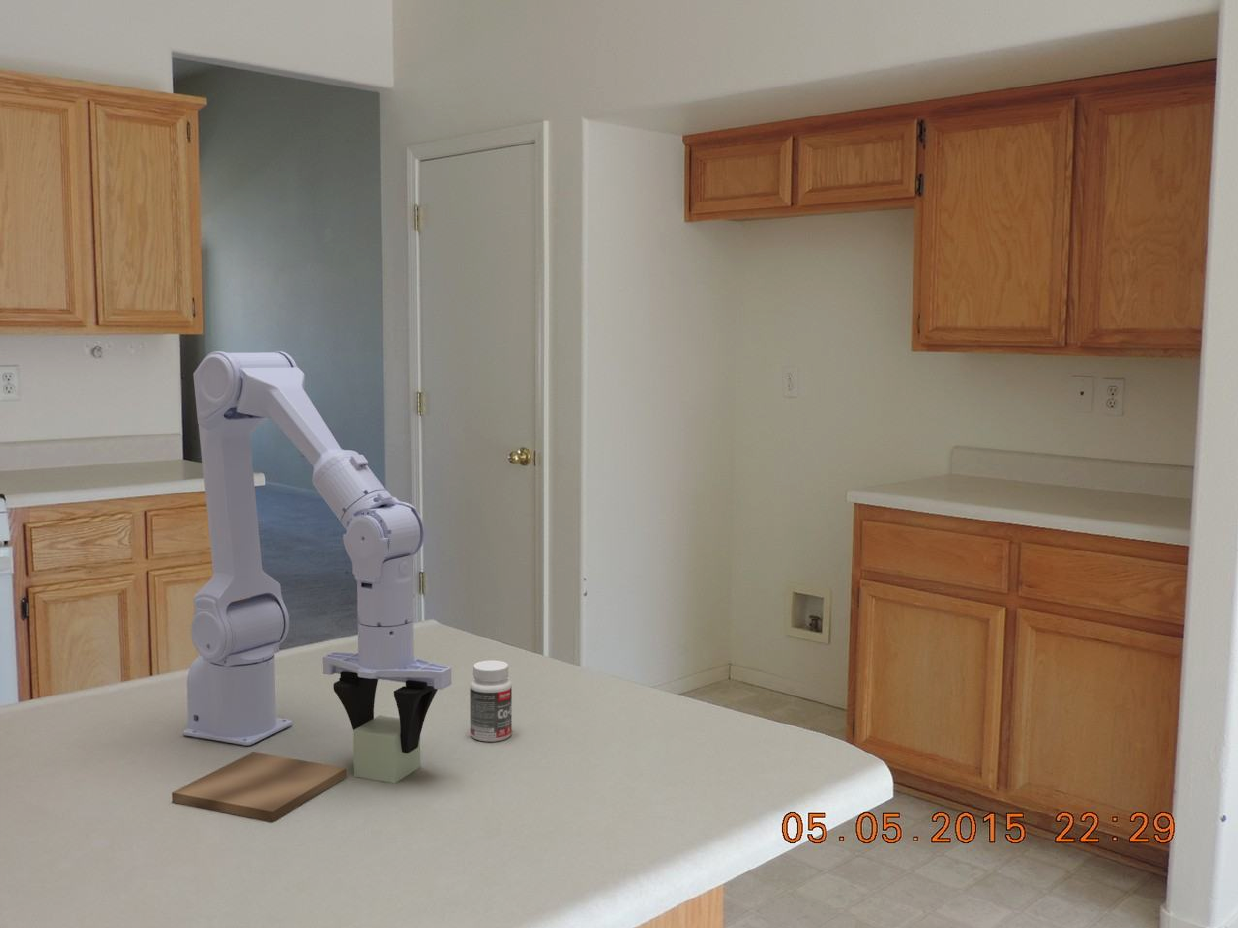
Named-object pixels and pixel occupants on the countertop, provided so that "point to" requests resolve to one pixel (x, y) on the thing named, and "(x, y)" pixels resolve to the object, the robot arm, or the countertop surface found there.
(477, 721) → the pill bottle
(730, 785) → the countertop surface
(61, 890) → the countertop surface
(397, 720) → the sage cube
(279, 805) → the walnut pad
